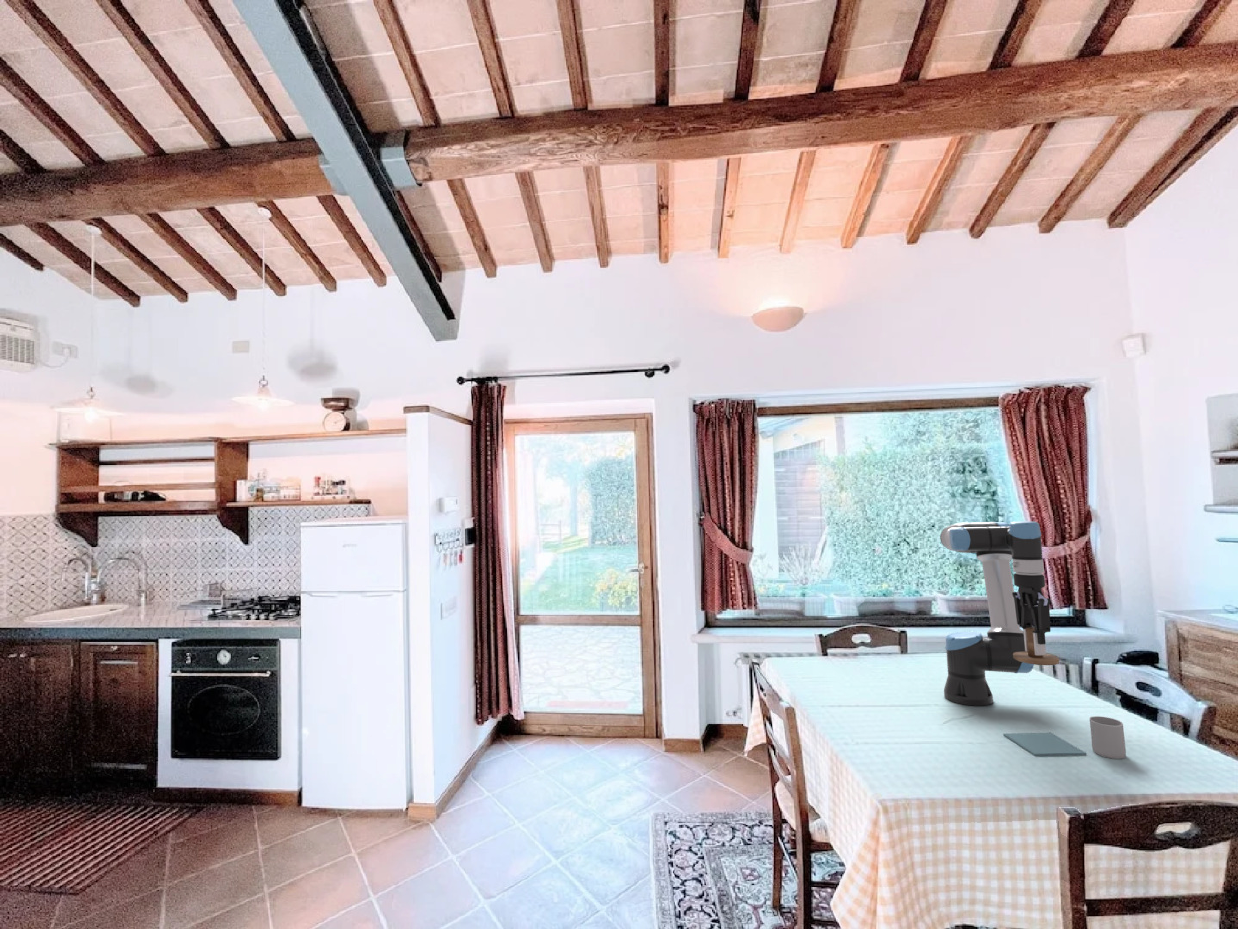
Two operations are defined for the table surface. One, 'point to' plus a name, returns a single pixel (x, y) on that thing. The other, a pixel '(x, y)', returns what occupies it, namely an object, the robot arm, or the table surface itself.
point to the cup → (1107, 737)
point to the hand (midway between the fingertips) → (1035, 652)
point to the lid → (1030, 655)
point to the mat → (1044, 744)
